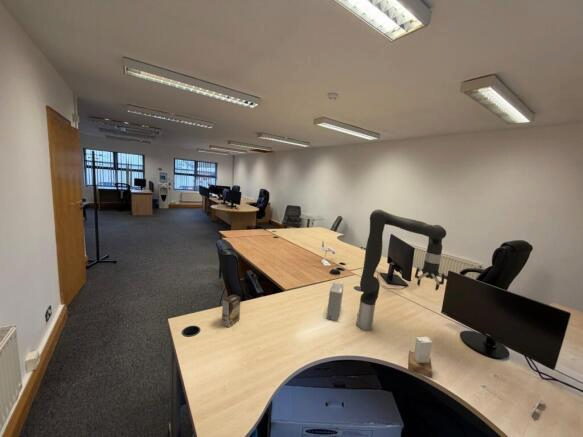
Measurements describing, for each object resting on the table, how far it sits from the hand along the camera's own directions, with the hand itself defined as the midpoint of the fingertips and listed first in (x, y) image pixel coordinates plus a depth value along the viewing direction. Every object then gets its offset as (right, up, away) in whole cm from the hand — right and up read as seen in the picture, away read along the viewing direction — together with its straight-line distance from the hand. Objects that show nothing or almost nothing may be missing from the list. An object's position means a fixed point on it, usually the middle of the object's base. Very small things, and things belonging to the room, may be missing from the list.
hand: (427, 287), depth 135 cm
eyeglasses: (+23, -42, -26) cm, 54 cm away
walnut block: (-12, -37, -14) cm, 41 cm away
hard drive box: (-48, -27, +28) cm, 62 cm away
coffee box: (-115, -25, +11) cm, 118 cm away
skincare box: (-12, -33, -14) cm, 38 cm away
